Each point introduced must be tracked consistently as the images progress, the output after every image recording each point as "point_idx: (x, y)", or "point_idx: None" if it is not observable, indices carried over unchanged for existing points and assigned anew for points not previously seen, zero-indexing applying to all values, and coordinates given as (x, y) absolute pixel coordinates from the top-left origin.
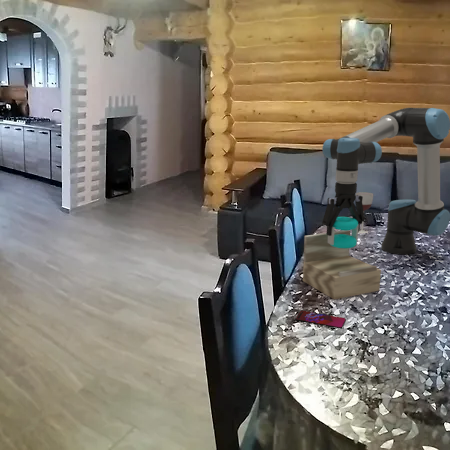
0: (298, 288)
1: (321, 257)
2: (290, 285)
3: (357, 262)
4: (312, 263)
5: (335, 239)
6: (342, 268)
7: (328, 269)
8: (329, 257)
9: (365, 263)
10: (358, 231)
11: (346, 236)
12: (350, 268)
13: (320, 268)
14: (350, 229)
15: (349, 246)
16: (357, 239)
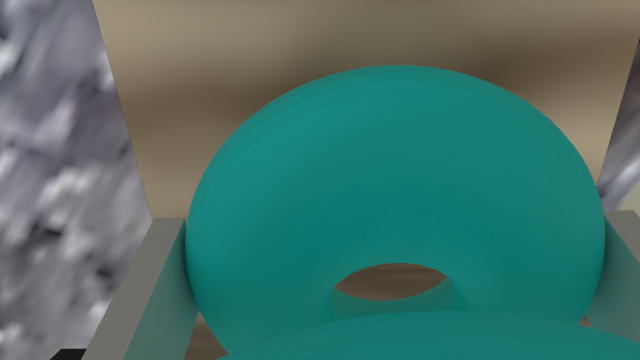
0: (635, 112)
1: (428, 282)
2: (635, 170)
3: (183, 121)
4: None
5: (585, 274)
6: (413, 36)
7: (552, 62)
8: (350, 276)
9: (122, 73)
10: (71, 353)
11: (323, 316)
12: (341, 5)
13: (592, 113)
14: (458, 312)
15: (424, 67)
16: (148, 235)
